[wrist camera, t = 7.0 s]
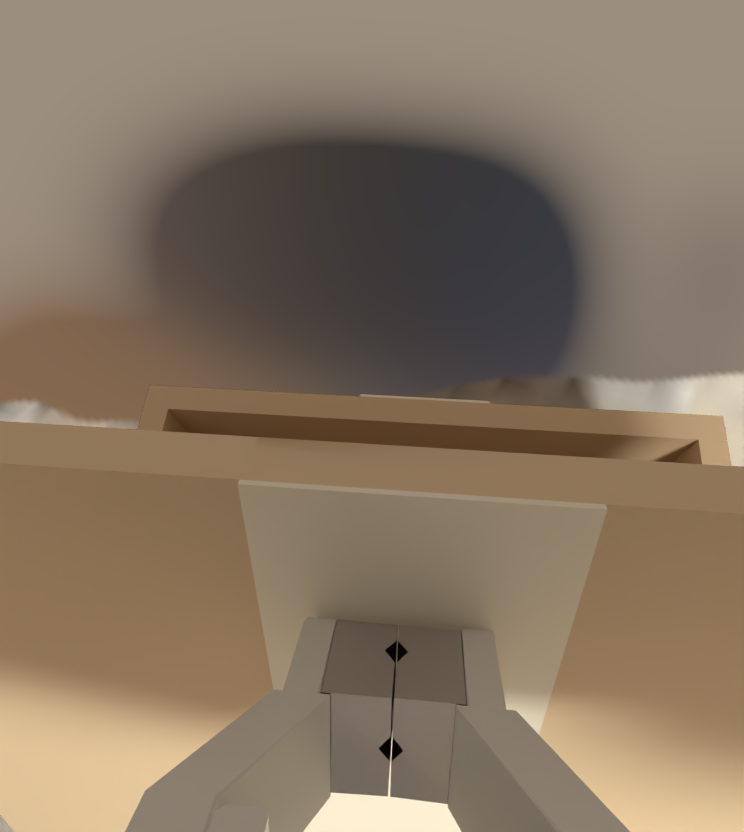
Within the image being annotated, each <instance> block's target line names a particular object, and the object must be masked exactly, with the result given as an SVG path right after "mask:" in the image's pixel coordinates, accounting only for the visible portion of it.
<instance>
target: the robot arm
mask: <svg viewBox="0 0 744 832" xmlns="http://www.w3.org/2000/svg"><path fill="white" fill-rule="evenodd" d="M397 632H398V625H391V624H381V623H371V622H361V621H351V620H341V619H338V620H336V619H327V618H316V617H307V618H306V620H305V621H304V622H303V625H302V629H301V632H300V635H299V639H298V642H297V645H296V648H295V652H294V655H293V658H292V662H291V665H290V668H289V671H288V675H287V678H286V681H285V685H284V688H283V690H272V691H271V692H270V693H269V694H267V695H266V696H265V697H263V698H262V699H261V700H260V701H258V702H257V703H256V704H255V705H253V706H252V707H251V708H249V709H248V710H247V711H246V712H244V713H243V714H242V715H241V716H239V717H238V718H237V719H235V720H234V721H233V722H232V723H230V724H229V725H228V726H227V727H225V728H224V729H223V730H221V731H220V732H219V733H218V734H216V735H215V736H214V737H213V738H211V739H210V740H209V741H208V742H206V743H205V744H204V745H202V746H201V747H200V748H199V749H197V750H196V751H195V752H194V753H192V754H191V755H190V756H188V757H187V758H186V759H185V760H183V761H182V762H181V763H180V764H178V765H177V766H176V767H174V768H173V769H172V770H171V771H169V772H168V773H167V774H166V775H164V776H163V777H162V778H160V779H159V780H158V781H157V782H155V783H154V784H153V785H152V786H150V787H149V788H148V789H146V790H145V792H144V794H143V796H142V798H141V800H140V802H139V804H138V806H137V808H136V810H135V812H134V814H133V816H132V818H131V820H130V822H129V824H128V826H127V828H126V830H125V832H303V831H304V830H305V828H306V827H307V826H308V825H309V823H310V822H311V821H312V820H313V818H314V817H315V816H316V814H317V813H318V812H319V811H320V809H321V808H322V807H323V805H324V804H325V803H326V802H327V800H328V799H329V798H330V796H331V793H344V794H359V795H374V796H388V788H389V775H390V762H391V785H390V797H396V798H404V799H411V800H419V801H427V802H435V803H442V804H448V809H449V810H450V812H451V814H452V816H453V818H454V819H455V821H456V823H457V825H458V826H459V828H460V830H461V832H630V831H629V830H628V829H627V828H626V827H625V826H624V825H623V824H622V823H621V821H620V820H619V819H618V818H617V817H616V816H615V815H614V814H613V813H612V812H611V811H610V810H609V809H608V808H607V807H606V806H605V804H604V803H603V802H602V801H601V800H600V799H599V798H598V797H597V796H596V795H595V794H594V793H593V792H592V791H591V790H590V789H589V787H588V786H587V785H586V784H585V783H584V782H583V781H582V780H581V779H580V778H579V777H578V776H577V775H576V774H575V773H574V772H573V770H572V769H571V768H570V767H569V766H568V765H567V764H566V763H565V762H564V761H563V760H562V759H561V758H560V757H559V756H558V754H557V753H556V752H555V751H554V750H553V749H552V748H551V747H550V746H549V745H548V744H547V743H546V742H545V741H544V740H543V739H542V737H541V736H540V735H539V734H538V733H537V732H536V731H535V730H534V729H533V728H532V727H531V726H530V725H529V724H528V723H527V722H526V720H525V719H524V718H523V717H522V716H521V715H520V714H519V713H518V712H517V711H515V710H506V704H505V698H504V692H503V685H502V679H501V673H500V666H499V660H498V654H497V647H496V641H495V635H494V633H493V632H492V631H491V630H471V629H461V630H454V629H440V628H426V627H412V626H399V635H398V650H397ZM396 657H397V663H396ZM392 737H393V740H392ZM391 745H392V757H391Z"/></svg>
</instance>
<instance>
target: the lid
mask: <svg viewBox="0 0 744 832" xmlns="http://www.w3.org/2000/svg"><path fill="white" fill-rule="evenodd" d="M307 617H316V618H327V619H336V620H338V619H341V620H351V621H361V622H371V623H381V624H391V625H398V632H397V650H398V635H399V626H412V627H426V628H440V629H454V630H461V629H471V630H491V631H492V632H493V633H494V635H495V641H496V647H497V654H498V660H499V666H500V673H501V679H502V685H503V692H504V698H505V704H506V710H515V711H517V712H518V713H519V714H520V715H521V716H522V717H523V718H524V719H525V720H526V722H527V723H528V724H529V725H530V726H531V727H532V728H533V729H534V730H535V731H536V732H537V733H538V734H539V735H540V736H541V737H542V739H543V740H544V741H545V742H546V743H547V744H548V745H549V746H550V747H551V748H552V749H553V750H554V751H555V752H556V753H557V754H558V756H559V757H560V758H561V759H562V760H563V761H564V762H565V763H566V764H567V765H568V766H569V767H570V768H571V769H572V770H573V772H574V773H575V774H576V775H577V776H578V777H579V778H580V779H581V780H582V781H583V782H584V783H585V784H586V785H587V786H588V787H589V789H590V790H591V791H592V792H593V793H594V794H595V795H596V796H597V797H598V798H599V799H600V800H601V801H602V802H603V803H604V804H605V806H606V807H607V808H608V809H609V810H610V811H611V812H612V813H613V814H614V815H615V816H616V817H617V818H618V819H619V820H620V821H621V823H622V824H623V825H624V826H625V827H626V828H627V829H628V830H629V831H630V832H744V467H738V466H722V465H705V464H689V463H673V462H656V461H640V460H624V459H607V458H591V457H575V456H559V455H542V454H526V453H510V452H493V451H477V450H461V449H444V448H428V447H412V446H395V445H379V444H363V443H346V442H330V441H314V440H298V439H281V438H265V437H249V436H232V435H216V434H200V433H183V432H167V431H151V430H134V429H118V428H102V427H86V426H69V425H53V424H37V423H20V422H4V421H0V815H1V816H2V817H3V818H4V819H5V821H6V822H7V823H8V824H9V826H10V827H11V828H12V829H13V831H18V832H125V830H126V828H127V826H128V824H129V822H130V820H131V818H132V816H133V814H134V812H135V810H136V808H137V806H138V804H139V802H140V800H141V798H142V796H143V794H144V792H145V790H146V789H148V788H149V787H150V786H152V785H153V784H154V783H155V782H157V781H158V780H159V779H160V778H162V777H163V776H164V775H166V774H167V773H168V772H169V771H171V770H172V769H173V768H174V767H176V766H177V765H178V764H180V763H181V762H182V761H183V760H185V759H186V758H187V757H188V756H190V755H191V754H192V753H194V752H195V751H196V750H197V749H199V748H200V747H201V746H202V745H204V744H205V743H206V742H208V741H209V740H210V739H211V738H213V737H214V736H215V735H216V734H218V733H219V732H220V731H221V730H223V729H224V728H225V727H227V726H228V725H229V724H230V723H232V722H233V721H234V720H235V719H237V718H238V717H239V716H241V715H242V714H243V713H244V712H246V711H247V710H248V709H249V708H251V707H252V706H253V705H255V704H256V703H257V702H258V701H260V700H261V699H262V698H263V697H265V696H266V695H267V694H269V693H270V692H271V691H272V690H283V688H284V685H285V681H286V678H287V675H288V671H289V668H290V665H291V662H292V658H293V655H294V652H295V648H296V645H297V642H298V639H299V635H300V632H301V629H302V625H303V622H304V621H305V620H306V618H307ZM396 663H397V657H396ZM392 740H393V737H392ZM391 757H392V745H391ZM390 785H391V762H390V775H389V788H388V796H374V795H359V794H344V793H331V796H330V798H329V799H328V800H327V802H326V803H325V804H324V805H323V807H322V808H321V809H320V811H319V812H318V813H317V814H316V816H315V817H314V818H313V820H312V821H311V822H310V823H309V825H308V826H307V827H306V828H305V830H304V831H303V832H461V830H460V828H459V826H458V825H457V823H456V821H455V819H454V818H453V816H452V814H451V812H450V810H449V809H448V804H442V803H435V802H427V801H419V800H411V799H404V798H396V797H390Z"/></svg>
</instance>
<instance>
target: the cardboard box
mask: <svg viewBox="0 0 744 832" xmlns="http://www.w3.org/2000/svg"><path fill="white" fill-rule="evenodd" d="M137 430H151V431H167V432H183V433H200V434H216V435H232V436H249V437H265V438H281V439H298V440H314V441H330V442H346V443H363V444H379V445H395V446H412V447H428V448H444V449H461V450H477V451H493V452H510V453H526V454H542V455H559V456H575V457H591V458H607V459H624V460H640V461H656V462H673V463H689V464H705V465H722V466H731V460H730V454H729V448H728V443H727V437H726V431H725V425H724V420H723V416H712V415H693V414H675V413H656V412H638V411H620V410H601V409H583V408H565V407H546V406H528V405H509V404H491V403H490V401H479V400H460V399H442V398H423V397H405V396H386V395H368V394H360V396H342V395H326V394H307V393H288V392H270V391H252V390H234V389H215V388H197V387H179V386H160V385H150V386H149V390H148V393H147V396H146V400H145V404H144V407H143V411H142V415H141V418H140V422H139V426H138V429H137Z"/></svg>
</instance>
